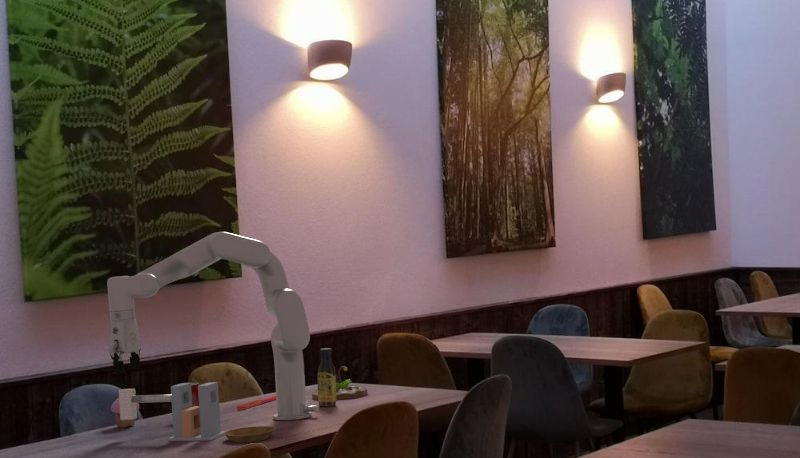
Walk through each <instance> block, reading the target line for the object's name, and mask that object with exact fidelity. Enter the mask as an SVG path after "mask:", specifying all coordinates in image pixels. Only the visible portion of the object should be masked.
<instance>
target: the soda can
mask: <svg viewBox="0 0 800 458" xmlns="http://www.w3.org/2000/svg"><path fill="white" fill-rule="evenodd" d="M190 383H191V393H192V407H193V406H199V395H198V386H199V385H200V383H199V382H190Z"/></svg>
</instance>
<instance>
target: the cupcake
mask: <svg viewBox="0 0 800 458" xmlns="http://www.w3.org/2000/svg"><path fill="white" fill-rule="evenodd" d="M136 409H137V411H138V410H139V409H140V404H139V403H136ZM110 410H111V412H112V413H114V417H115V425H116V426H117V428H126V427H129V426H130V427H131V426H134V425H135V422H136V418H135V419H132V420H120V404H119V397H118V398H117V399H115V400H114V401H113V403H112V404H111V406H110Z"/></svg>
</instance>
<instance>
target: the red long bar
mask: <svg viewBox="0 0 800 458" xmlns="http://www.w3.org/2000/svg"><path fill="white" fill-rule="evenodd" d="M273 401H277V397H276V395H275V394H273V395H270V396H266V397H263V398H260V399H256V400H253V401H249V402H245V403H243V404H240V405H238V406H236V410H237V411H244V410H246V409H250V408H253V407H256V406H260V405H263V404H266V403H270V402H273Z"/></svg>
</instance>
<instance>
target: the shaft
mask: <svg viewBox="0 0 800 458" xmlns="http://www.w3.org/2000/svg"><path fill="white" fill-rule="evenodd" d="M136 394H137V393H136V388H122V389H119V390H118V398H119V404H120V420H132V419H135V420H136V419H137V418H138V413H137V412H138V410H137V409H136V403H138V404H139V403H141V404H142V403H172V399H171V394H141V395H139V394H138V395H136ZM183 401H185V395H184V394H183Z"/></svg>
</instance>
